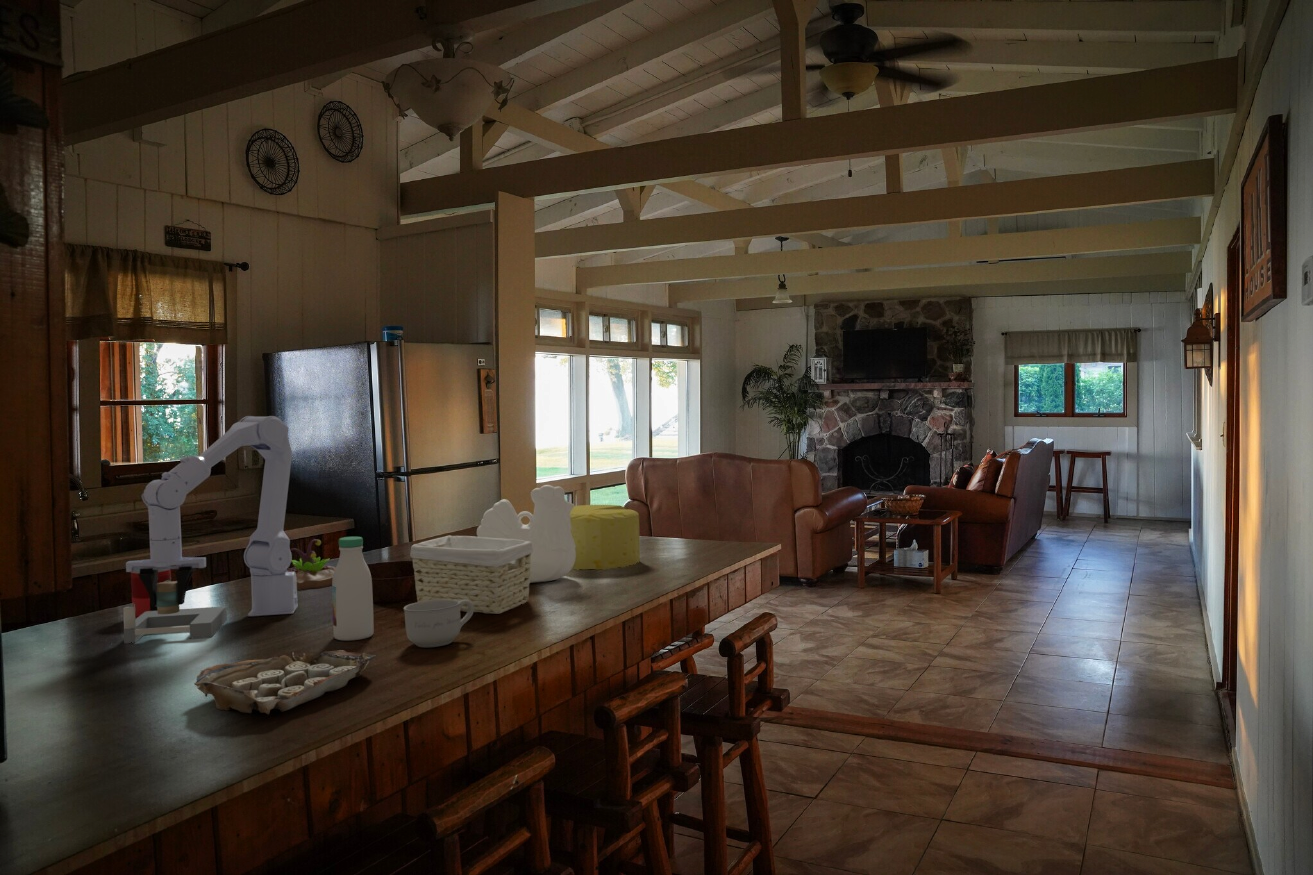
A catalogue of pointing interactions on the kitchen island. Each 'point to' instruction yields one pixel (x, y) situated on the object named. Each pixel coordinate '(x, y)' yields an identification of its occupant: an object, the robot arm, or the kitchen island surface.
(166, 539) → the robot arm
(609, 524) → the cheese
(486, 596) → the storage basket
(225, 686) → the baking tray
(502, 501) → the decorative rooster
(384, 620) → the kitchen island surface
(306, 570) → the plant
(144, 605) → the canned food
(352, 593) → the milk bottle
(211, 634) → the grey u-shaped frame
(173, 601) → the bobbin
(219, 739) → the kitchen island surface
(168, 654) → the kitchen island surface
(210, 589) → the kitchen island surface
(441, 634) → the teacup
